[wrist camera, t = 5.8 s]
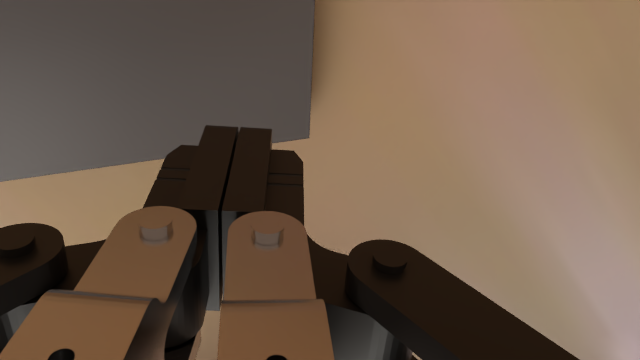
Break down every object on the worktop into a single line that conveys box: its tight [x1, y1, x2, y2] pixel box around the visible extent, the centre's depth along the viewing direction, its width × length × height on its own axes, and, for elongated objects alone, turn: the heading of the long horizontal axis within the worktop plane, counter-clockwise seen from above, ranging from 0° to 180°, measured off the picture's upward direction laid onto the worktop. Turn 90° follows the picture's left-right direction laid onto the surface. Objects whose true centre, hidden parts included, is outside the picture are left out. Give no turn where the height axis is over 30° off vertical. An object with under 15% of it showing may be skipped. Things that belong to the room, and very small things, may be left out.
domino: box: [0, 0, 315, 182], centre depth 17 cm, size 2×5×10 cm
